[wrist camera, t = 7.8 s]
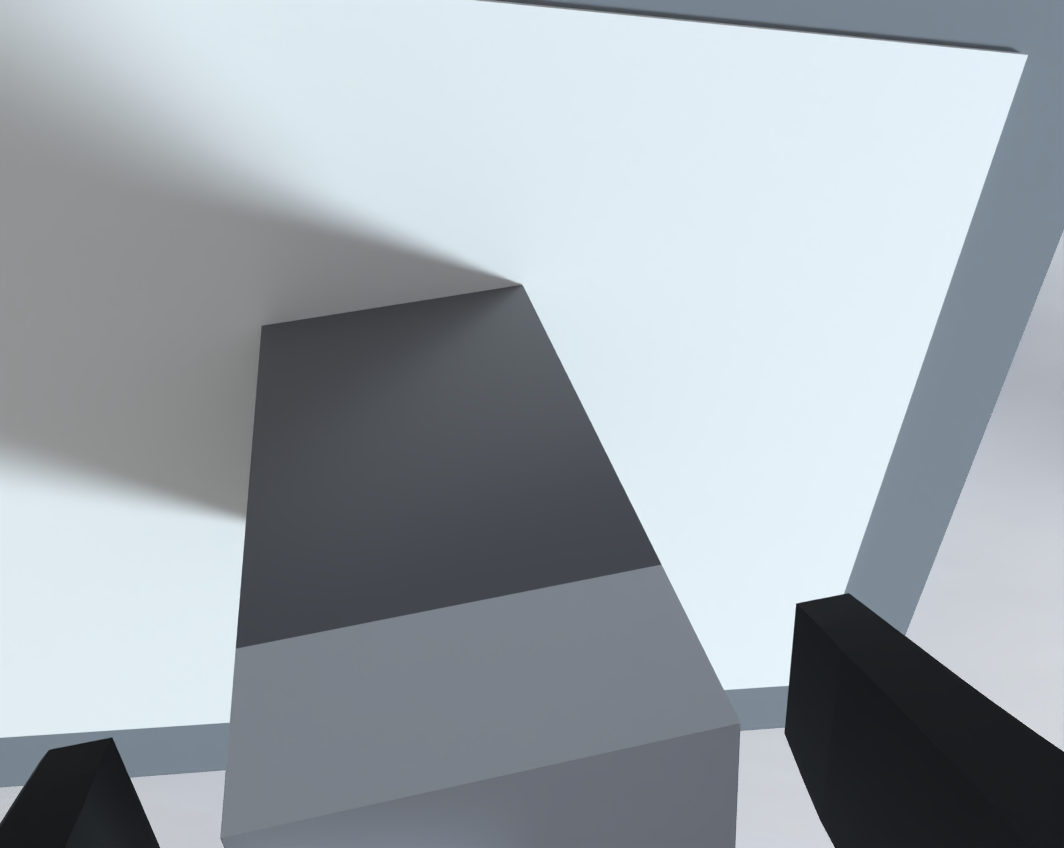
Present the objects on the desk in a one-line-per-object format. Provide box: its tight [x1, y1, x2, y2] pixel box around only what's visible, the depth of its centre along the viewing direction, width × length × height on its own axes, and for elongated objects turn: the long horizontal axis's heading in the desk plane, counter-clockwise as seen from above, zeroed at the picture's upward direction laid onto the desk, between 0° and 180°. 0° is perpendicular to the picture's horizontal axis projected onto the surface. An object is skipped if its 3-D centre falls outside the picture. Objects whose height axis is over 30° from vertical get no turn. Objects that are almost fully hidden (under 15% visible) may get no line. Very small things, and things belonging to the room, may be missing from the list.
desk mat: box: [0, 0, 1064, 787], centre depth 16 cm, size 22×16×1 cm
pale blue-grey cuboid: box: [220, 285, 740, 848], centre depth 12 cm, size 4×4×9 cm
